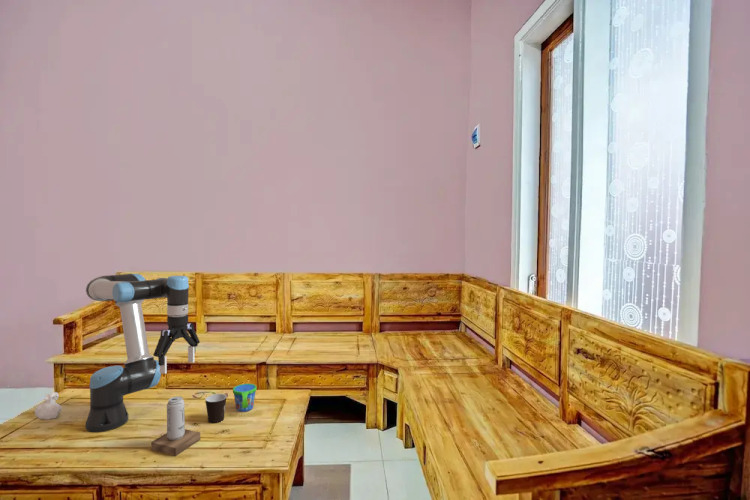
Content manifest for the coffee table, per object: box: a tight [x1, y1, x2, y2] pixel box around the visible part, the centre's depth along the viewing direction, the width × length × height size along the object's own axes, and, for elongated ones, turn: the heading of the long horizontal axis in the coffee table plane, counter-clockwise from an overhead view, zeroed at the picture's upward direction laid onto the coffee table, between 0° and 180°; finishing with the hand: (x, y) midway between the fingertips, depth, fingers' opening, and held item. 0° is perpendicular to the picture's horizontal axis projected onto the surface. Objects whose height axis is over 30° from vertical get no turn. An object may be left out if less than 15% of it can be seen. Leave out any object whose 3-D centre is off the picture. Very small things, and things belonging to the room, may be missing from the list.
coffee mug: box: [204, 393, 227, 424], centre depth 172 cm, size 12×9×10 cm
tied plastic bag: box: [34, 391, 63, 420], centre depth 173 cm, size 12×8×11 cm
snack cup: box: [232, 383, 257, 413], centre depth 182 cm, size 16×10×10 cm
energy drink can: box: [166, 396, 186, 440], centre depth 150 cm, size 6×6×15 cm
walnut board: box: [150, 428, 201, 457], centre depth 151 cm, size 12×12×3 cm
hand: (177, 367), depth 156 cm, fingers open, 13 cm apart
